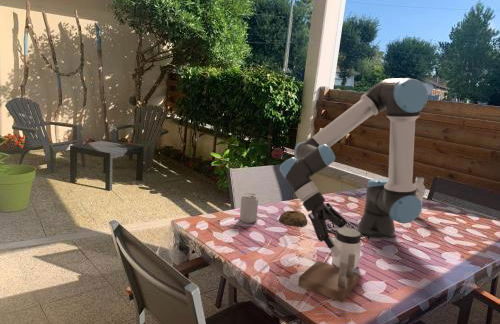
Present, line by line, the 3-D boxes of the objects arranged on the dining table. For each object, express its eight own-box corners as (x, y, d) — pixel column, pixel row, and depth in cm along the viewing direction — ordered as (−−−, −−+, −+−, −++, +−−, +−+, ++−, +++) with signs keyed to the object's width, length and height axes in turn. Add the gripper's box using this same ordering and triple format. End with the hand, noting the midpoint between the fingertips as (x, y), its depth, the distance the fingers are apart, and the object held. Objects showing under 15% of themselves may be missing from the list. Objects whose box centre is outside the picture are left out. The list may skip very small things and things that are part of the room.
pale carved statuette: (406, 218, 183) (412, 178, 179) (406, 214, 189) (412, 175, 185) (421, 220, 181) (427, 180, 177) (420, 216, 187) (426, 177, 183)
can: (254, 224, 162) (256, 198, 160) (238, 222, 164) (239, 196, 161) (258, 219, 170) (259, 193, 167) (241, 216, 171) (243, 191, 169)
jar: (340, 256, 137) (343, 225, 134) (361, 264, 131) (365, 232, 129) (328, 264, 130) (331, 231, 127) (350, 273, 125) (354, 239, 122)
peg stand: (298, 285, 115) (301, 255, 113) (317, 268, 126) (320, 240, 124) (342, 302, 107) (346, 270, 105) (358, 282, 119) (362, 253, 117)
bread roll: (306, 218, 176) (307, 207, 174) (307, 227, 163) (308, 217, 162) (278, 215, 177) (279, 205, 176) (278, 225, 165) (278, 214, 164)
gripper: (317, 195, 146) (350, 242, 141) (286, 210, 126) (323, 266, 121) (331, 184, 142) (366, 232, 137) (302, 199, 122) (341, 256, 117)
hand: (346, 248), depth 129 cm, fingers open, 13 cm apart
